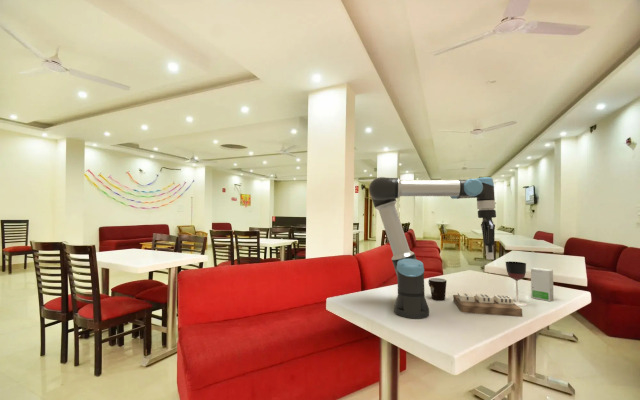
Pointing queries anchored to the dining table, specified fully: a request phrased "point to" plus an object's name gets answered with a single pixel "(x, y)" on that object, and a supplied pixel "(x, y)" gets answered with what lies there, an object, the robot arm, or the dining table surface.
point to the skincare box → (542, 284)
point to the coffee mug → (437, 288)
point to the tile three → (503, 299)
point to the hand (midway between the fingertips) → (490, 259)
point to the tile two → (484, 298)
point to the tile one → (466, 297)
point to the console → (487, 308)
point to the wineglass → (516, 275)
